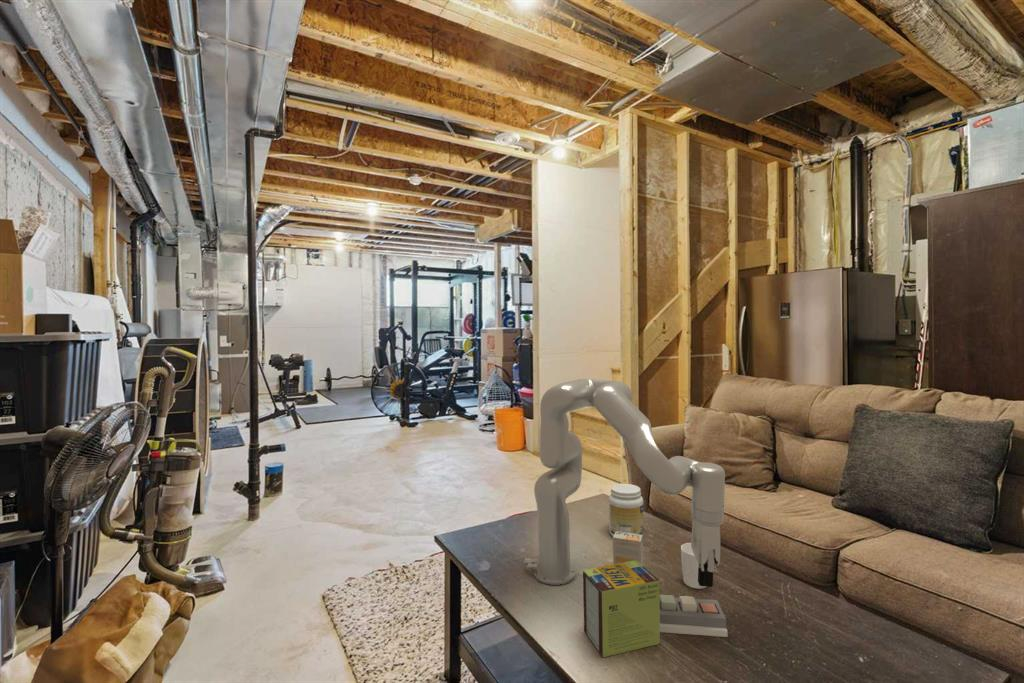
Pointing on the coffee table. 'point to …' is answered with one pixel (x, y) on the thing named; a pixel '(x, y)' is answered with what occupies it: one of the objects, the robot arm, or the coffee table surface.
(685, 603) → the key
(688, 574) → the white cup
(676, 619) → the keypad
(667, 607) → the key
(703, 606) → the key
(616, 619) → the protein box
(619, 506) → the supplement tub
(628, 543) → the supplement box
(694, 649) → the coffee table surface
